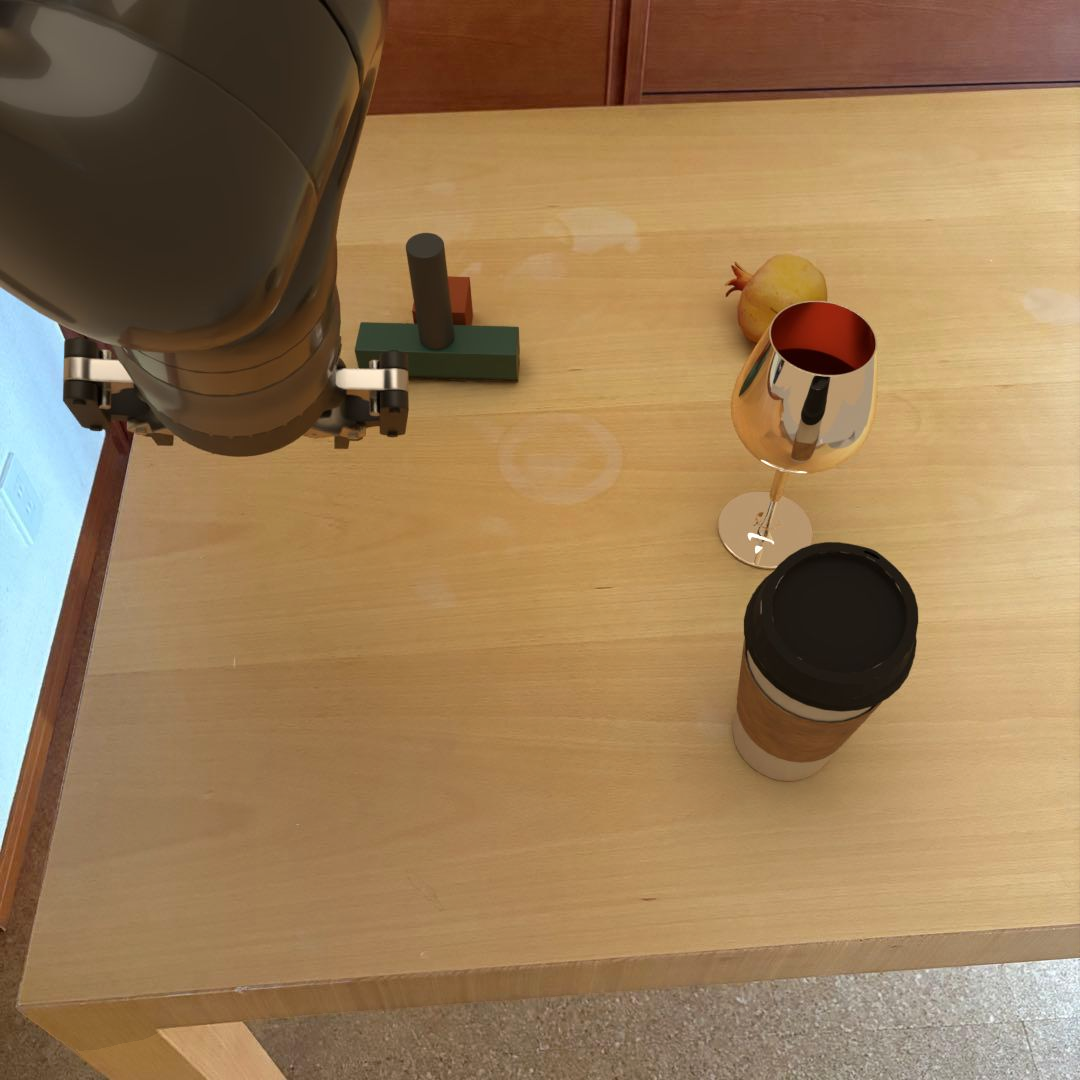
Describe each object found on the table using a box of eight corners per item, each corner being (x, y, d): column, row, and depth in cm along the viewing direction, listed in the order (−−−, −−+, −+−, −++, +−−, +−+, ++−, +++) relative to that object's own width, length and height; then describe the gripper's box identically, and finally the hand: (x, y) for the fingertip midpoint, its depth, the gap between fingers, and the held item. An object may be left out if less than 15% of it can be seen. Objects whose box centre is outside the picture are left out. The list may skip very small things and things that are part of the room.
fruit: (877, 275, 75) (762, 219, 78) (837, 307, 71) (717, 246, 74) (842, 351, 80) (736, 296, 83) (804, 386, 75) (692, 325, 79)
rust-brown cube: (417, 349, 79) (411, 311, 76) (423, 313, 81) (418, 275, 78) (468, 351, 79) (464, 312, 76) (473, 315, 81) (469, 276, 78)
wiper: (361, 382, 77) (332, 257, 67) (367, 353, 79) (340, 228, 69) (517, 387, 77) (511, 261, 67) (520, 358, 78) (515, 232, 69)
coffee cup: (876, 716, 61) (958, 586, 49) (815, 831, 57) (887, 721, 45) (752, 648, 64) (799, 508, 51) (685, 752, 60) (720, 628, 48)
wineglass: (691, 492, 71) (727, 296, 56) (802, 474, 72) (867, 276, 57) (724, 589, 66) (773, 404, 51) (843, 569, 67) (925, 381, 52)
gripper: (431, 240, 37) (395, 361, 53) (12, 213, 34) (106, 350, 50) (434, 439, 37) (396, 501, 52) (6, 430, 33) (103, 499, 49)
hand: (254, 427), depth 51 cm, fingers open, 8 cm apart
